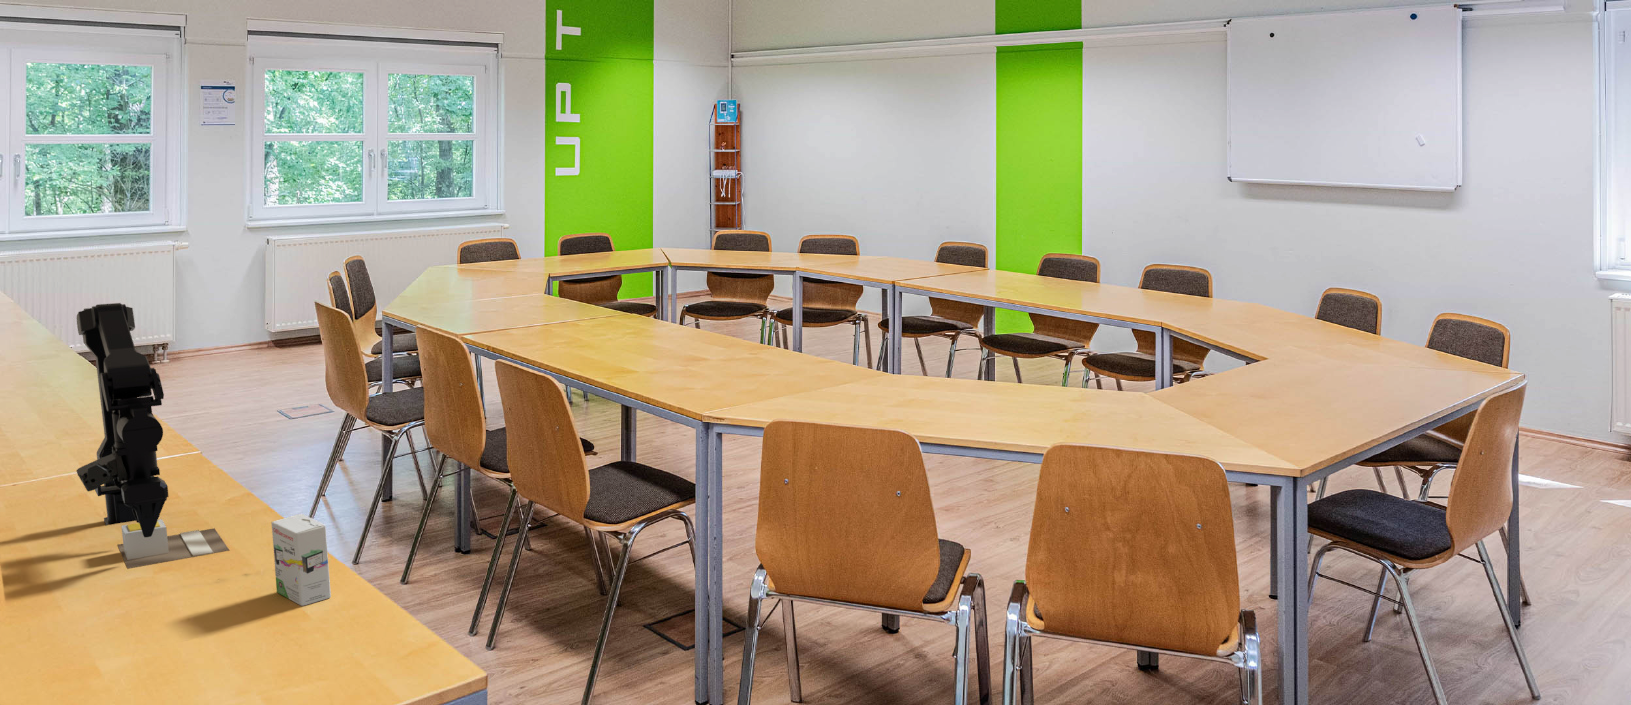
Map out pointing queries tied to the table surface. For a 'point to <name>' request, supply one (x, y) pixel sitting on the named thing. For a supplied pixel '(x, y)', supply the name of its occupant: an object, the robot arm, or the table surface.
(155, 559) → the subfloor board
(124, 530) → the block
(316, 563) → the ink box
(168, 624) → the table surface
